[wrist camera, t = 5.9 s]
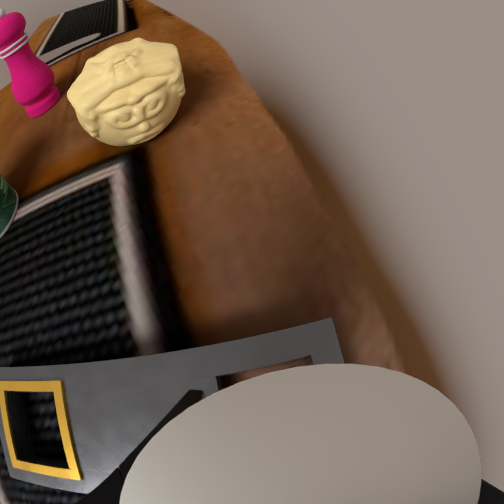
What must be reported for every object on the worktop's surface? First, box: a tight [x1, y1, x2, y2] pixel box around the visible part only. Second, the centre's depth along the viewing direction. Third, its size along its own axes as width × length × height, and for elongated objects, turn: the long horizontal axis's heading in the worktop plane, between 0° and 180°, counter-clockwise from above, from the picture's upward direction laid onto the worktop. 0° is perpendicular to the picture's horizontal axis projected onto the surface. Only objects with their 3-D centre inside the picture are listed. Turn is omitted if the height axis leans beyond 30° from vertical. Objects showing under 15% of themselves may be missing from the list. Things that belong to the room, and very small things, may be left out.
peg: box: [119, 364, 481, 504], centre depth 8 cm, size 4×4×12 cm
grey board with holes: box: [0, 317, 345, 494], centre depth 17 cm, size 28×10×3 cm, turn 102°
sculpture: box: [67, 38, 185, 146], centre depth 25 cm, size 11×12×11 cm
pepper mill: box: [0, 9, 60, 118], centre depth 26 cm, size 7×7×20 cm
